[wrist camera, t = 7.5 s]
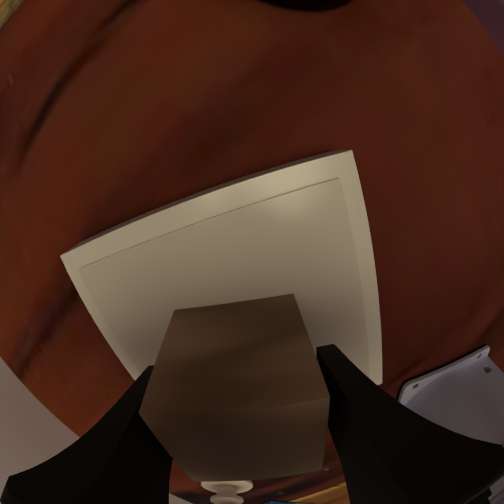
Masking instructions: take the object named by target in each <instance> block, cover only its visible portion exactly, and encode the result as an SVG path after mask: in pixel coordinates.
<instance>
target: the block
mask: <svg viewBox="0 0 504 504" xmlns="http://www.w3.org/2000/svg"><path fill="white" fill-rule="evenodd" d="M329 403H330V395H329V392H328V389H327V386H326V383H325V381H324V378H323V375H322V372H321V369H320V366H319V363H318V361H317V358H316V355H315V352H314V349H313V346H312V344H311V341H310V338H309V335H308V332H307V330H306V327H305V324H304V321H303V319H302V316H301V313H300V310H299V308H298V305H297V302H296V300H295V297H294V294H293V293H292V294H286V295H280V296H274V297H267V298H261V299H254V300H247V301H240V302H233V303H226V304H218V305H210V306H202V307H194V308H186V309H177V310H174V312H173V315H172V318H171V320H170V323H169V326H168V328H167V331H166V334H165V337H164V339H163V342H162V345H161V348H160V350H159V353H158V356H157V359H156V362H155V365H154V368H153V371H152V374H151V376H150V379H149V382H148V385H147V388H146V392H145V395H144V398H143V401H142V404H141V407H140V410H139V414H140V416H141V417H142V419H143V420H144V422H145V423H146V424H147V426H148V427H149V429H150V430H151V431H152V433H153V434H154V435H155V437H156V438H157V439H158V441H159V442H160V443H161V445H162V446H163V447H164V448H165V450H166V451H167V452H168V453H169V455H170V456H171V457H172V458H173V459H174V461H175V462H176V463H177V464H178V465H179V466H180V468H181V469H182V470H183V471H184V472H185V473H186V474H187V475H188V476H189V478H190V479H191V480H192V481H202V482H223V481H246V480H259V479H269V478H277V477H284V476H291V475H297V474H303V473H308V472H313V471H318V470H322V466H323V459H324V451H325V443H326V435H327V425H328V415H329Z"/></svg>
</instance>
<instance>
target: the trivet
mask: <svg viewBox="0 0 504 504" xmlns="http://www.w3.org/2000/svg"><path fill="white" fill-rule="evenodd" d="M60 257H61V259H62V261H63V263H64V265H65V267H66V269H67V272H68V274H69V276H70V278H71V280H72V282H73V284H74V285H75V287H76V289H77V291H78V293H79V295H80V297H81V299H82V300H83V302H84V304H85V306H86V308H87V309H88V311H89V313H90V314H91V316H92V318H93V320H94V321H95V323H96V324H97V326H98V328H99V329H100V331H101V333H102V334H103V336H104V337H105V339H106V340H107V342H108V343H109V345H110V346H111V348H112V349H113V351H114V352H115V354H116V355H117V357H118V358H119V359H120V361H121V362H122V364H123V365H124V366H125V368H126V369H127V371H128V372H129V373H130V375H131V376H132V377H133V379H134V380H136V379H137V378H138V377H139V376H140V375H141V373H142V372H143V371H144V370H145V369H146V368H147V367H148V366H149V365H155V362H156V359H157V356H158V353H159V350H160V348H161V345H162V342H163V339H164V337H165V334H166V331H167V328H168V326H169V323H170V320H171V318H172V315H173V312H174V310H177V309H186V308H194V307H202V306H210V305H218V304H226V303H233V302H240V301H247V300H254V299H261V298H267V297H274V296H280V295H286V294H292V293H293V294H294V297H295V300H296V302H297V305H298V308H299V310H300V313H301V316H302V319H303V321H304V324H305V327H306V330H307V332H308V335H309V338H310V341H311V344H312V346H313V349H314V352H315V355H316V347H320V346H325V345H330V344H335V345H336V346H337V347H338V348H339V349H340V350H341V351H342V352H343V353H344V354H345V355H346V356H347V358H348V359H349V360H350V361H351V362H352V363H354V364H355V365H356V366H357V367H358V368H359V369H360V370H361V371H362V372H363V373H364V374H365V375H366V376H367V377H369V378H370V379H371V380H372V381H373V382H374V383H375V384H377V385H379V384H382V340H381V322H380V308H379V297H378V287H377V278H376V270H375V262H374V255H373V248H372V242H371V236H370V230H369V224H368V218H367V213H366V208H365V203H364V198H363V194H362V189H361V185H360V180H359V176H358V172H357V168H356V164H355V160H354V156H353V152H352V150H336V151H330V152H326V153H322V154H318V155H315V156H311V157H307V158H304V159H300V160H296V161H293V162H289V163H286V164H283V165H279V166H276V167H273V168H269V169H266V170H263V171H260V172H256V173H253V174H250V175H247V176H244V177H241V178H238V179H235V180H232V181H229V182H226V183H223V184H220V185H217V186H215V187H212V188H209V189H206V190H203V191H201V192H198V193H195V194H192V195H190V196H187V197H184V198H182V199H179V200H177V201H174V202H171V203H169V204H166V205H164V206H161V207H159V208H156V209H154V210H151V211H149V212H147V213H144V214H142V215H139V216H137V217H135V218H132V219H130V220H128V221H125V222H123V223H121V224H118V225H116V226H114V227H112V228H109V229H107V230H105V231H103V232H101V233H98V234H96V235H94V236H92V237H90V238H88V239H86V240H84V241H82V242H80V243H79V244H77V245H76V246H74V247H73V248H71V249H69V250H68V251H67V252H65V253H64V254H62V255H61V256H60Z"/></svg>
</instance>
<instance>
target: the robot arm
mask: <svg viewBox="0 0 504 504" xmlns="http://www.w3.org/2000/svg"><path fill="white" fill-rule="evenodd" d="M489 350H490V347H489V346H488V345H487V346H484V347H483V348H481V349H479V350H477V351H475V352H473V353H471V354H469V355H467V356H465V357H463V358H461V359H459V360H457V361H455V362H453V363H451V364H449V365H446V366H444V367H442V368H440V369H437V370H435V371H433V372H430V373H428V374H426V375H423V376H421V377H418V378H415V379H413V380H410V381H408V382H406V383H405V384H404V385H403V387H402V390H401V393H400V396H399V399H398V401H397V400H396V399H394V398H393V397H392V396H390V395H389V394H388V393H386V392H385V391H384V390H383V389H381V388H380V387H379V386H378V385H377V384H375V383H374V382H373V381H372V380H371V379H370V378H369V377H367V376H366V375H365V374H364V373H363V372H362V371H361V370H360V369H359V368H358V367H357V366H356V365H355V364H354V363H352V362H351V361H350V360H349V359H348V358H347V356H346V355H345V354H344V353H343V352H342V351H341V350H340V349H339V348H338V347H337V346H336V345H335V344H330V345H325V346H320V347H316V358H317V361H318V363H319V366H320V369H321V372H322V375H323V378H324V381H325V383H326V386H327V389H328V392H329V395H330V403H329V415H328V428H329V431H330V433H331V436H332V439H333V441H334V444H335V447H336V449H337V452H338V455H339V458H340V461H341V464H342V467H343V472H344V476H345V480H346V485H347V490H348V494H349V499H350V504H504V373H503V372H502V371H501V370H500V369H499V368H498V367H497V366H496V365H495V363H494V362H493V361H492V360H491V359H490V358H489V357H488V356H487V355H488V353H489ZM153 368H154V365H149V366H148V367H147V368H146V369H145V370H144V371H143V372H142V373H141V375H140V376H139V377H138V378H137V379H136V380H135V382H134V383H133V384H132V385H131V386H130V388H129V389H128V390H127V391H126V392H125V393H124V395H123V396H122V397H121V398H120V399H119V400H118V401H117V403H116V404H115V405H114V406H113V407H112V408H111V409H110V410H109V411H108V412H107V413H106V414H105V415H104V416H103V417H102V418H101V419H100V420H99V421H98V422H97V423H96V424H95V425H94V426H93V427H92V428H91V429H90V430H89V431H88V432H87V433H85V434H84V435H83V436H82V437H81V438H79V439H78V440H77V441H76V442H74V443H73V444H72V445H70V446H69V447H67V448H66V449H64V450H63V451H62V452H60V453H59V454H57V455H55V456H54V457H52V458H50V459H49V460H47V461H45V462H43V463H41V464H39V465H37V466H35V467H33V468H31V469H29V470H26V471H23V472H20V473H18V474H15V475H12V476H9V478H8V480H7V483H6V485H5V488H4V490H3V493H2V496H1V499H0V502H1V503H2V504H169V479H170V471H171V466H172V461H173V458H172V457H171V456H170V455H169V453H168V452H167V451H166V450H165V448H164V447H163V446H162V445H161V443H160V442H159V441H158V439H157V438H156V437H155V435H154V434H153V433H152V431H151V430H150V429H149V427H148V426H147V424H146V423H145V422H144V420H143V419H142V417H141V416H140V414H139V410H140V407H141V404H142V401H143V398H144V395H145V392H146V388H147V385H148V382H149V379H150V376H151V374H152V371H153Z"/></svg>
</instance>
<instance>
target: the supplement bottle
mask: <svg viewBox="0 0 504 504" xmlns="http://www.w3.org/2000/svg"><path fill="white" fill-rule="evenodd" d="M269 1H272V2H275V3H279V4H283V5H287V6H292V7H299V8H308V9H323V8H332V7H337V6H341V5H343V4H346V3H348V2H350V1H352V0H269Z"/></svg>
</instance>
